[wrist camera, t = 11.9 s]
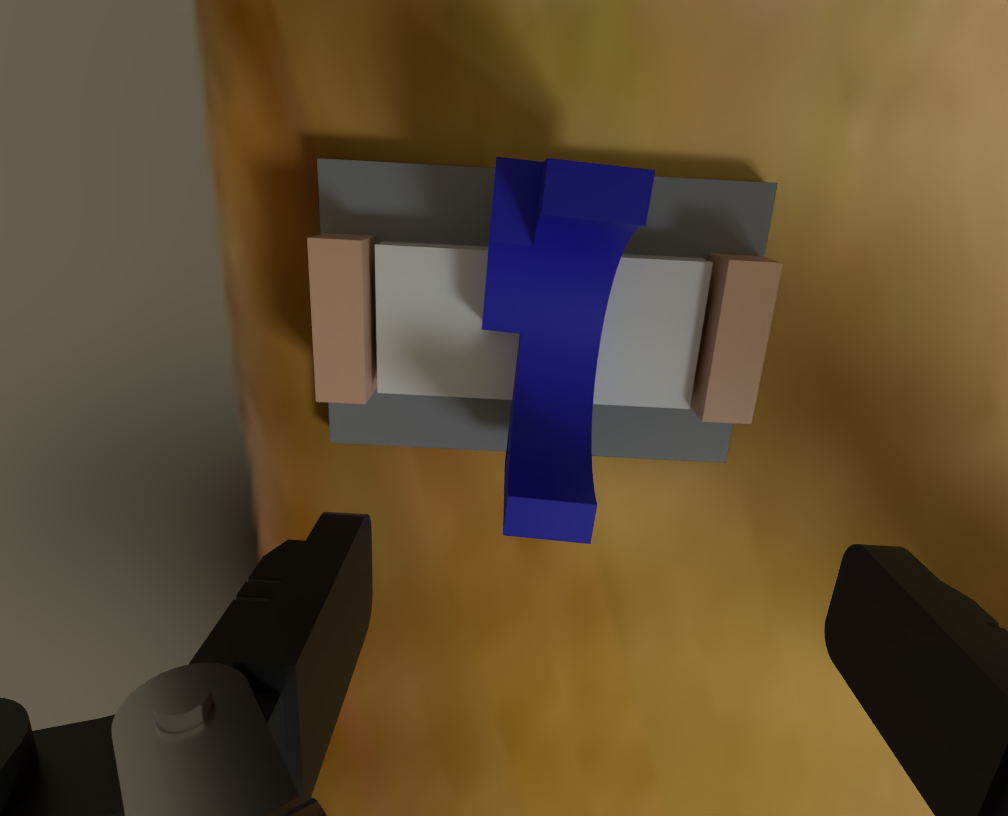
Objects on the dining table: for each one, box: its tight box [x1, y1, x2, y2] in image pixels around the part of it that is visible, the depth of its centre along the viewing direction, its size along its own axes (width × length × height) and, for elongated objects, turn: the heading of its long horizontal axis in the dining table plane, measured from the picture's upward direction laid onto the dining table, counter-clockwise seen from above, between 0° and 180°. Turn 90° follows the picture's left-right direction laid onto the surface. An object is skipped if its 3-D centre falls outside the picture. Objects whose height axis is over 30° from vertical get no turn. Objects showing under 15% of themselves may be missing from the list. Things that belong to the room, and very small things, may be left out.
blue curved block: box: [482, 157, 655, 544], centre depth 22 cm, size 12×4×6 cm, turn 174°
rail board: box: [307, 158, 783, 463], centre depth 26 cm, size 18×12×4 cm, turn 87°
